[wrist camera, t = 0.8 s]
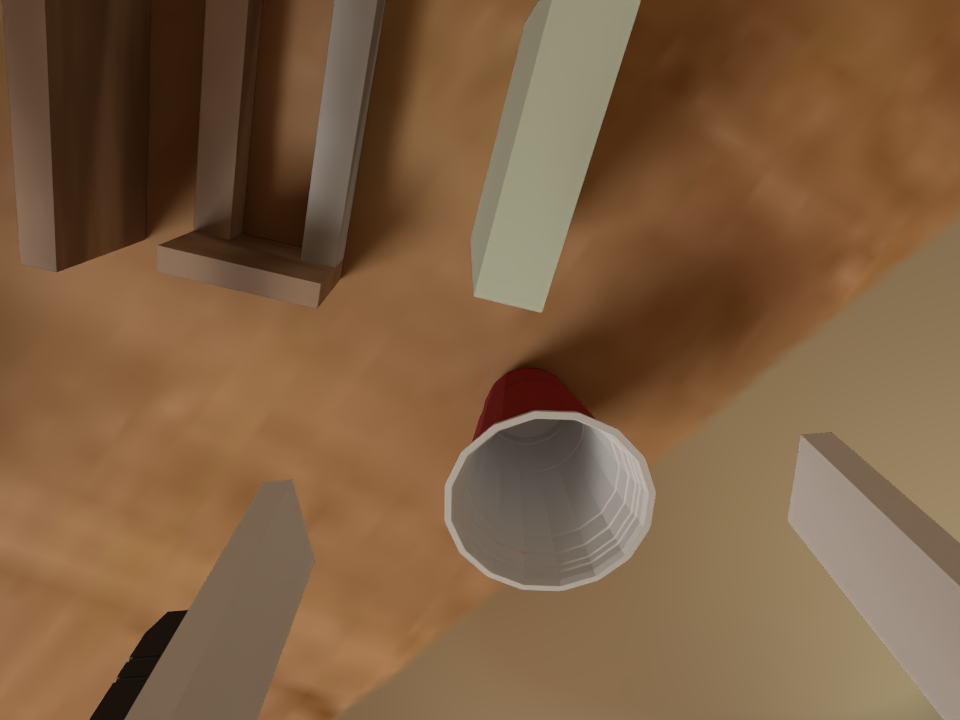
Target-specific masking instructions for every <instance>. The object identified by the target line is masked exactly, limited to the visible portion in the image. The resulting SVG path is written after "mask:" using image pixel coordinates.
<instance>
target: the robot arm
mask: <svg viewBox="0 0 960 720" xmlns="http://www.w3.org/2000/svg"><path fill="white" fill-rule="evenodd" d="M788 522H789V524H790V525H791V526H792V527H793V529H794V530H795V531H796V532H797V534H798V535H799V536H800V537H801V539H802V540H803V541H804V543H805V544H806V545H807V546H808V548H809V549H810V550H811V552H812V553H813V554H814V555H815V557H816V558H817V559H818V560H819V562H820V563H821V564H822V566H823V567H824V568H825V569H826V571H827V572H828V573H829V574H830V576H831V577H832V578H833V580H834V581H835V582H836V583H837V585H838V586H839V587H840V588H841V590H842V591H843V592H844V594H845V595H846V596H847V597H848V599H849V600H850V601H851V603H852V604H853V605H854V606H855V608H856V609H857V610H858V611H859V613H860V614H861V615H862V617H863V618H864V619H865V620H866V622H867V623H868V624H869V625H870V627H871V628H872V629H873V631H874V632H875V633H876V634H877V636H878V637H879V638H880V639H881V640H882V642H883V643H884V644H885V646H886V647H887V648H888V650H889V651H890V652H891V653H892V655H893V656H894V657H895V659H896V660H897V661H898V662H899V663H900V665H901V666H902V667H903V669H904V670H905V671H906V673H907V674H908V675H909V676H910V678H911V679H912V680H913V681H914V683H915V684H916V685H917V687H918V688H919V689H920V690H921V692H922V693H923V694H924V695H925V697H926V698H927V699H928V701H929V702H930V703H931V704H932V706H933V707H934V708H935V709H936V711H937V712H938V713H939V714H940V716H941V717H942V718H943V720H960V543H959V542H958V541H957V540H956V539H954V538H953V537H952V536H951V535H950V534H949V533H948V532H946V531H945V530H944V529H943V528H942V527H941V526H940V525H938V524H937V523H936V522H935V521H934V520H933V519H932V518H930V517H929V516H928V515H927V514H926V513H925V512H923V511H922V510H921V509H920V508H919V507H917V505H915V504H914V503H913V502H912V501H911V500H909V499H908V498H907V497H906V496H905V495H904V494H902V492H900V491H899V490H898V489H897V488H896V487H895V486H893V485H892V484H891V483H890V482H889V481H888V480H886V479H885V478H884V477H883V476H882V475H881V474H880V473H878V472H877V471H876V470H875V469H874V468H873V467H871V466H870V465H869V464H868V463H867V462H866V461H865V460H863V459H862V458H861V457H860V456H859V455H858V454H857V453H855V452H854V451H853V450H852V449H851V448H850V447H848V446H847V445H846V444H845V443H844V442H843V441H841V440H840V439H839V438H838V437H837V436H836V435H835V434H833V433H832V432H826V433H814V434H802V435H801V438H800V444H799V451H798V457H797V464H796V470H795V476H794V483H793V490H792V495H791V502H790V508H789V515H788ZM314 562H315V558H314V554H313V551H312V547H311V544H310V540H309V537H308V533H307V530H306V526H305V523H304V519H303V516H302V512H301V508H300V505H299V501H298V498H297V494H296V491H295V487H294V484H293V480H292V479H291V480H280V481H268V482H263V484H262V485H261V487H260V489H259V490H258V492H257V494H256V496H255V497H254V499H253V501H252V502H251V504H250V506H249V508H248V509H247V511H246V513H245V514H244V516H243V518H242V519H241V521H240V523H239V525H238V526H237V528H236V530H235V531H234V533H233V535H232V537H231V538H230V540H229V542H228V543H227V545H226V547H225V548H224V550H223V552H222V554H221V555H220V557H219V559H218V560H217V562H216V564H215V566H214V567H213V569H212V571H211V572H210V574H209V576H208V577H207V579H206V581H205V583H204V584H203V586H202V588H201V589H200V591H199V593H198V595H197V596H196V598H195V600H194V601H193V603H192V605H191V607H190V608H189V610H184V611H172V612H167V613H166V614H165V615H164V616H163V617H162V618H161V619H160V620H159V621H158V622H157V623H156V624H155V625H153V626H152V627H151V628H150V629H149V630H148V631H147V632H146V633H145V634H144V636H143V637H142V639H141V640H140V642H139V644H138V645H137V647H136V648H135V650H134V651H133V653H132V654H131V656H130V660H129V662H126V664H125V665H124V667H123V668H122V670H121V672H120V673H119V675H118V676H117V681H116V683H113V684H112V686H111V687H110V689H109V690H108V692H107V693H106V695H105V696H104V698H103V699H102V701H101V703H100V704H99V706H98V707H97V709H96V710H95V712H94V713H93V715H92V717H91V718H90V720H257V719H258V717H259V714H260V711H261V708H262V706H263V703H264V700H265V697H266V694H267V692H268V689H269V686H270V683H271V681H272V678H273V675H274V672H275V670H276V667H277V664H278V661H279V659H280V656H281V653H282V650H283V648H284V645H285V642H286V639H287V637H288V634H289V631H290V628H291V626H292V623H293V620H294V617H295V615H296V612H297V609H298V606H299V604H300V601H301V598H302V595H303V593H304V590H305V587H306V584H307V582H308V579H309V576H310V573H311V571H312V568H313V565H314Z"/></svg>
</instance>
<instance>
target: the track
mask: <svg viewBox="0 0 960 720" xmlns="http://www.w3.org/2000/svg"><path fill="white" fill-rule="evenodd" d="M385 2H386V0H335V2H334V9H333V17H332V25H331V32H330V40H329V47H328V55H327V62H326V70H325V78H324V85H323V93H322V100H321V108H320V116H319V123H318V131H317V138H316V146H315V153H314V161H313V169H312V176H311V184H310V191H309V199H308V206H307V214H306V222H305V229H304V237H303V244H302V248H301V247H297V246H293V245H289V244H284V243H280V242H276V241H272V240H268V239H264V238H260V237H256V236H252V235H247V234H243V233H242V230H243V219H244V208H245V196H246V185H247V174H248V162H249V151H250V140H251V128H252V117H253V106H254V95H255V83H256V72H257V61H258V49H259V38H260V27H261V15H262V4H263V0H206V10H205V29H204V47H203V66H202V84H201V103H200V121H199V140H198V158H197V177H196V195H195V214H194V231H192V232H190V233H187V234H185V235H183V236H180V237H178V238H175V239H173V240H170V241H168V242H165V243H163V244H160V245H158V257H157V272H160V273H164V274H169V275H173V276H177V277H182V278H186V279H190V280H195V281H199V282H203V283H208V284H212V285H216V286H221V287H225V288H229V289H234V290H238V291H242V292H247V293H251V294H256V295H260V296H264V297H269V298H273V299H277V300H282V301H286V302H290V303H295V304H299V305H303V306H308V307H312V308H316V309H317V308H318V307H319V306H320V304H321V303H322V302H323V301H324V299H325V298H326V297H327V295H328V294H329V293H330V292H331V290H332V289H333V288H334V287H335V285H336V284H337V283H338V281H339V280H340V278H341V272H342V266H343V259H344V253H345V247H346V241H347V235H348V229H349V223H350V216H351V210H352V204H353V198H354V192H355V186H356V180H357V174H358V167H359V161H360V155H361V149H362V143H363V137H364V131H365V124H366V118H367V112H368V106H369V100H370V94H371V88H372V81H373V75H374V69H375V63H376V57H377V51H378V45H379V39H380V32H381V26H382V20H383V14H384V8H385ZM2 5H3V20H4V34H5V49H6V63H7V77H8V92H9V106H10V121H11V135H12V149H13V164H14V178H15V192H16V207H17V221H18V236H19V250H20V264H22V265H27V266H31V267H35V268H40V269H44V270H49V271H53V272H59V271H61V270H64V269H67V268H69V267H72V266H75V265H78V264H80V263H83V262H86V261H88V260H91V259H94V258H97V257H99V256H102V255H105V254H107V253H110V252H113V251H116V250H118V249H121V248H124V247H126V246H129V245H132V244H135V243H137V242H140V241H143V240H145V239H146V206H147V157H148V109H149V60H150V12H151V0H2Z"/></svg>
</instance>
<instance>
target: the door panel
mask: <svg viewBox="0 0 960 720" xmlns="http://www.w3.org/2000/svg"><path fill="white" fill-rule="evenodd" d="M640 2H641V0H539V1H538V3H537V4H536V6H535V8H534V9H533V11H532V12H531V14H530V16H529V17H528V19H527V21H526V22H525V25H524V29H523V33H522V37H521V41H520V45H519V49H518V53H517V57H516V61H515V65H514V69H513V73H512V77H511V81H510V85H509V89H508V93H507V97H506V101H505V105H504V109H503V113H502V117H501V121H500V125H499V129H498V133H497V137H496V141H495V145H494V149H493V152H492V156H491V160H490V164H489V168H488V172H487V176H486V180H485V184H484V188H483V192H482V196H481V200H480V204H479V208H478V212H477V216H476V220H475V224H474V228H473V232H472V236H471V257H472V275H473V292H474V297H478V298H482V299H487V300H491V301H495V302H499V303H503V304H507V305H511V306H516V307H520V308H524V309H528V310H532V311H536V312H540V313H542V311H543V307H544V304H545V301H546V298H547V295H548V292H549V288H550V285H551V282H552V279H553V276H554V273H555V270H556V266H557V263H558V260H559V257H560V254H561V251H562V248H563V244H564V241H565V238H566V235H567V232H568V229H569V226H570V222H571V219H572V216H573V213H574V210H575V207H576V204H577V200H578V197H579V194H580V191H581V188H582V185H583V181H584V178H585V175H586V172H587V169H588V166H589V163H590V159H591V156H592V153H593V150H594V147H595V144H596V141H597V137H598V134H599V131H600V128H601V125H602V122H603V119H604V115H605V112H606V109H607V106H608V103H609V100H610V97H611V93H612V90H613V87H614V84H615V81H616V78H617V74H618V71H619V68H620V65H621V62H622V59H623V56H624V52H625V49H626V46H627V43H628V40H629V37H630V34H631V30H632V27H633V24H634V21H635V18H636V15H637V12H638V8H639V5H640Z"/></svg>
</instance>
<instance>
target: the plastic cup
mask: <svg viewBox="0 0 960 720" xmlns="http://www.w3.org/2000/svg"><path fill="white" fill-rule="evenodd" d="M655 495H656V491H655V488H654V485H653V482H652V479H651V475H650V472H649V469H648V466H647V463H646V460H645V457H644V456H643V455H642V454H641V453H640V452H639V451H638V450H637V449H636V448H635V447H634V446H633V445H632V444H631V443H630V442H629V441H628V440H627V438H626V437H625V436H624V435H623V434H622V433H621V432H620V431H619V430H618V429H616V428H615V427H613V426H610V425H608V424H605V423H603V422H601V421H598V420H596V419H595V418H594V417H593V416H592V414H591V413H590V412H589V411H588V410H587V409H586V408H585V406H584V405H583V404H582V403H581V402H580V401H579V400H578V399H577V398H576V397H575V396H574V395H573V394H572V393H571V392H570V391H569V390H568V388H567V387H566V386H565V385H564V384H563V383H562V382H561V381H560V380H559V379H558V378H557V377H556V376H554V375H552V374H551V373H548V372H546V371H543V370H541V369H538V368H520V369H517V370H515V371H512V372H509V373H506V374H505V375H504V376H503V377H502V378H500V379H499V380H498V381H497V382H496V383H495V384H494V385H493V387H492V389H491V390H490V392H489V394H488V396H487V398H486V400H485V404H484V408H483V412H482V414H481V416H480V418H479V421H478V425H477V428H476V431H475V434H474V438H473V441H472V443H470V444H469V445H468V446H467V447H466V448H464V449H463V451H462V452H461V454H460V456H459V458H458V460H457V462H456V464H455V466H454V468H453V470H452V472H451V474H450V476H449V478H448V480H447V482H446V484H445V523H446V525H447V527H448V529H449V531H450V534H451V536H452V538H453V540H454V542H455V544H456V546H457V548H458V550H459V553H461V554H462V555H463V556H464V557H465V558H466V559H467V560H469V561H470V562H471V563H472V564H473V565H474V566H475V567H477V568H478V569H479V570H480V571H481V572H482V573H484V574H485V575H486V576H487V577H490V578H492V579H495V580H498V581H500V582H503V583H506V584H508V585H511V586H514V587H517V588H519V589H522V590H545V591H546V590H547V591H563V590H567V589H570V588H573V587H577V586H581V585H584V584H588V583H591V582H594V581H598V580H600V579H601V578H603V577H604V576H605V575H607V574H608V573H610V572H611V571H613V570H614V569H616V568H617V567H618V566H620V565H621V564H622V563H624V562H626V561H627V560H628V559H630V558H631V556H632V555H633V553H634V552H635V550H636V549H637V547H638V546H639V544H640V543H641V541H642V540H643V538H644V537H645V535H646V534H647V532H648V530H649V529H650V526H651V520H652V514H653V507H654V501H655Z"/></svg>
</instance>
